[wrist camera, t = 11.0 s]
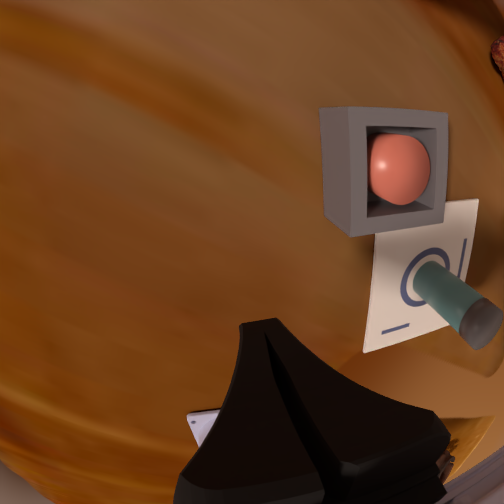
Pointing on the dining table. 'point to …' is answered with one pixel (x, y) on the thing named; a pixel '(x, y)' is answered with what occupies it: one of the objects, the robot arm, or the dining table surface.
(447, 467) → the brown black arched piece
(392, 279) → the paper sheet
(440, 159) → the button housing
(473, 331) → the marker
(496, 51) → the croissant
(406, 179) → the button
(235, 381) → the robot arm
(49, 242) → the dining table surface
